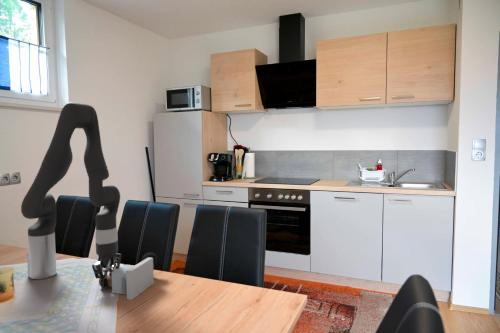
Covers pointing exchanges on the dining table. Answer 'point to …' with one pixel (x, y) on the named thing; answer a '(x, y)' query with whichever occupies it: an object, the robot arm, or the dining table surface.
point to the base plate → (139, 278)
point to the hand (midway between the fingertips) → (108, 285)
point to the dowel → (109, 281)
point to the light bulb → (151, 255)
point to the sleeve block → (120, 279)
